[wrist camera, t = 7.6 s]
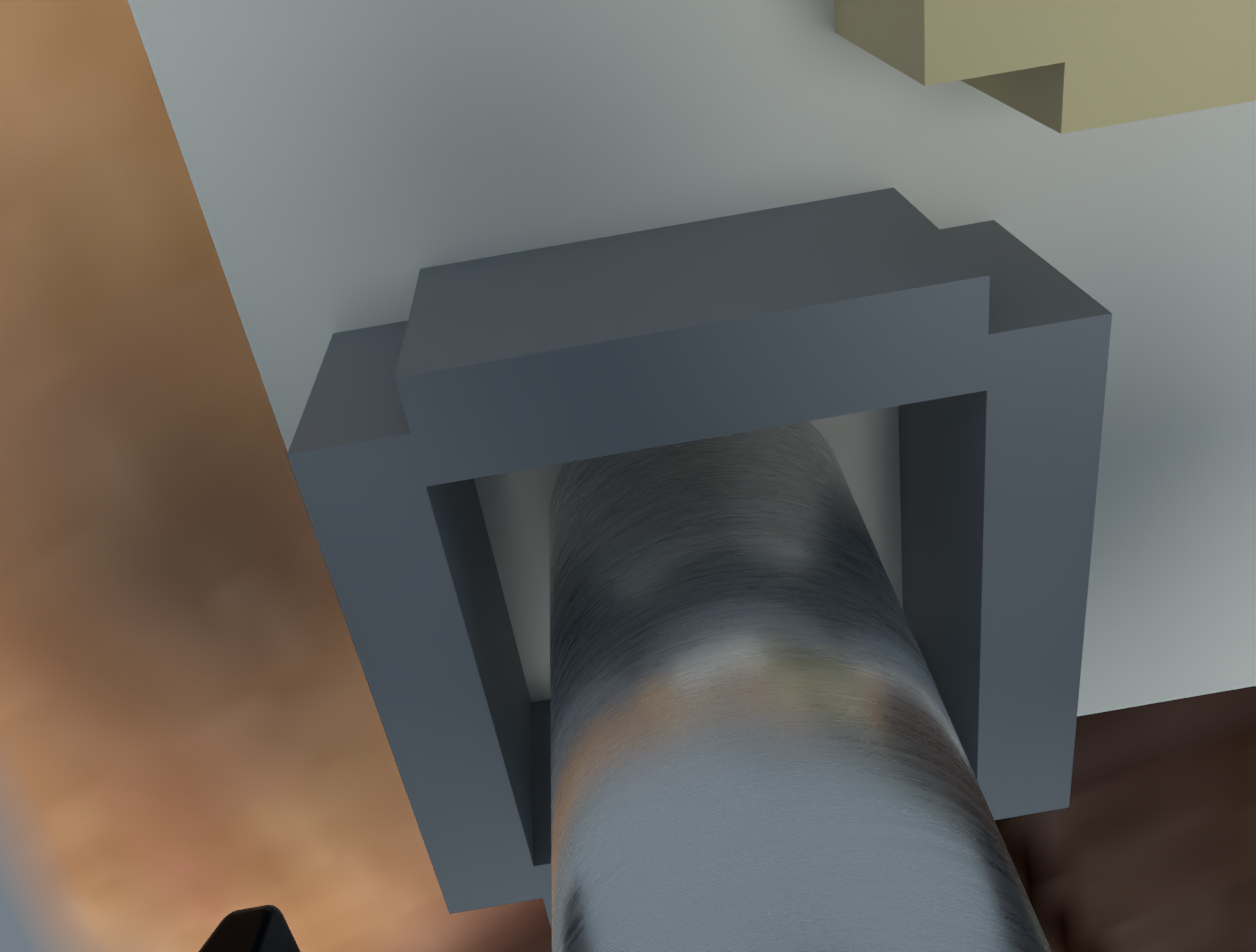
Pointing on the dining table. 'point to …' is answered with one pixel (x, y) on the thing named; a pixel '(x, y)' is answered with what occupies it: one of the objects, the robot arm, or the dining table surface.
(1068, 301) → the fitting plate
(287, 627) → the dining table surface
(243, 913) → the robot arm
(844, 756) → the metal cylinder
